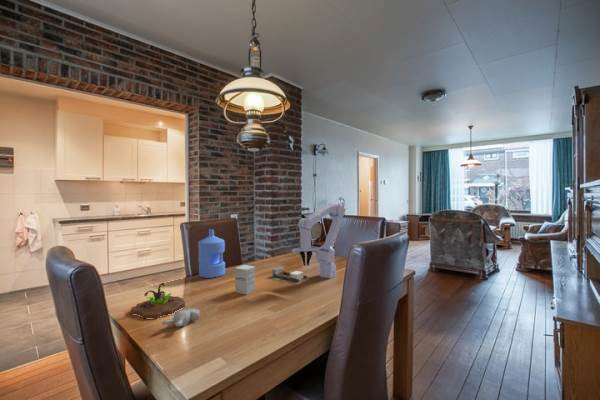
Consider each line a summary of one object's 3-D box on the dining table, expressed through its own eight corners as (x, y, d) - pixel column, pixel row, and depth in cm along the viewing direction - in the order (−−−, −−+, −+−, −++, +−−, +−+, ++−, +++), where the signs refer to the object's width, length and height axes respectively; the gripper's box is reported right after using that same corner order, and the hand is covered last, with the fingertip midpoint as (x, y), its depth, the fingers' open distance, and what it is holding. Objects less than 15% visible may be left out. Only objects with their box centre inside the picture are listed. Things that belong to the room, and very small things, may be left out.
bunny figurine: (205, 306, 116) (181, 318, 101) (205, 319, 115) (180, 333, 101) (185, 304, 118) (159, 315, 104) (185, 317, 118) (158, 330, 103)
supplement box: (235, 292, 143) (234, 267, 142) (244, 288, 149) (243, 264, 149) (246, 295, 139) (246, 269, 139) (255, 290, 146) (255, 265, 146)
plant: (193, 305, 128) (193, 281, 128) (152, 323, 111) (151, 295, 111) (166, 298, 138) (165, 275, 138) (124, 313, 122) (123, 287, 121)
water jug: (193, 277, 170) (192, 230, 169) (209, 270, 185) (208, 227, 184) (216, 279, 166) (215, 231, 165) (230, 272, 181) (229, 228, 180)
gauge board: (310, 280, 160) (310, 271, 160) (296, 287, 150) (296, 277, 149) (280, 274, 173) (280, 266, 173) (266, 280, 162) (265, 271, 162)
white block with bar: (303, 278, 160) (303, 272, 160) (292, 283, 152) (292, 276, 152) (296, 276, 163) (296, 270, 163) (285, 281, 155) (284, 275, 155)
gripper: (316, 238, 160) (317, 262, 161) (291, 239, 158) (291, 264, 158) (319, 240, 153) (320, 265, 154) (293, 242, 151) (293, 267, 151)
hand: (306, 265), depth 155 cm, fingers closed
